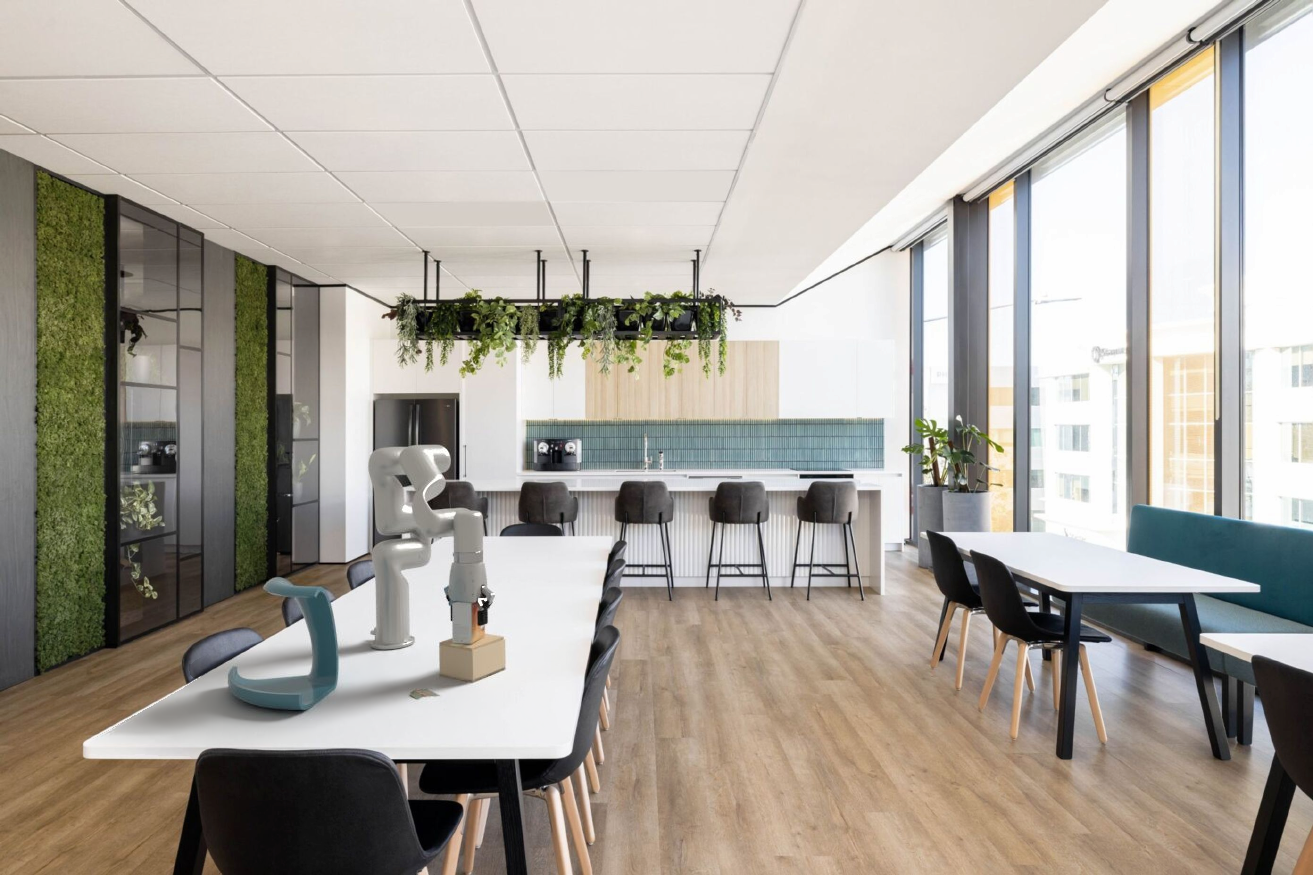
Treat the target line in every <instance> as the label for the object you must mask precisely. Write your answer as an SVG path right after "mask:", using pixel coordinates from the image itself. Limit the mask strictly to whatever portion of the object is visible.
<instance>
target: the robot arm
mask: <svg viewBox="0 0 1313 875" xmlns="http://www.w3.org/2000/svg"><path fill="white" fill-rule="evenodd" d="M451 462H452V459H451V454H450V452H449V451H448V449H447V448H446V447H444V446H443V445H441V444H415V445H414V444H413V445H409V446H390V447H389V446H388V447H380V448H378V449H375V450H374V451H373V452H372V453H371V454H370V455H369V459H368V462H367V463H368V464H367V465H368V466H367V468H368V474H369V478H370V480H371V484H372V487H373V496H374V498H373V499H374V517H375V526H376V527H375V528H376V530H377V532H378V534H380V535H382V536H396V535H406V534H409V536H410V537H405V538H394V539H387V540H382V541H380V542H379V543H377V544H375V545H374V547H373V548H372V550H371V561H372V562H371V563H372V565H373V566H372V567H373V572H374V579H375V580H374V581H375V620H376V621H375V627H374V628H373V629H371V631H370V635H372V636H374V639H373V640H372V641H371V642H370V647H371V648H373V649H375V650H395V649H396V650H397V649H403V648H407V647H410V646H411V645H414V643H415V642H416V637H414V636H413V635H411V634H410V587H409V586H410V585H409V582H408V580H407V579H406V577H405V576H404V575H403V573H402V571H404V570H405V571H406V570H411V569H417V568H418V569H419V568H423V567H425V566H426V565H428V564H429V563H430V561H431V559H432V543H431V542H432V541H431V540H432V539H439V538H447V537H453V552H452V557H453V562H451V565H450V571H449V579H448V584H447V586H445V587H444V588H443V591H444V595H445V598H446V599H445V600H447V602H448V606H449V607H450V611H449V612H450V622H452V603H455V602H457V601H459V602H465V603H476V605H477V606H478V608H479V610H478V611H477V625H478V626H482V625H485V626H486V625H488V623H489V609H490V608H491V606H492V604H493V601H494V599H495V597H496V594H495V593H494V592H493V591H492V590H491V589H490V588H488V581H487V580H488V578H487V570H486V566H485V564H486V563H484V523H483V522H484V519H483V518H484V517H483V513H482V512H481V511H479V510H478V511H477V510H470V509H468V508H466V507H455V508H453V507H452V508H451V507H450V508H442V509H439V508H438V509H432V508H431V507H430V505H429V503H428V502H429V501H430V500H432V499H434V498H436V497H437V496H439V495H440V494H441V493H442V492H443V491H444V490H445V487H446V484H447V483H446V478H445V477H444V475H443V473H445V472H447V471H448V470H449V469H450V467H451ZM396 476H406V477H407V478H408V480H409V482H410V483H411V485H412V487H413V488H414V491H415V493H414V495H413V498H412V502H405V491H404V487H403V485H402V483H401V482H400V481H399V479H398V478H397V477H396ZM481 602H482V603H483V605H482V604H481Z"/></svg>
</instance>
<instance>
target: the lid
mask: <svg viewBox="0 0 1313 875" xmlns="http://www.w3.org/2000/svg"><path fill="white" fill-rule="evenodd" d="M503 639H505V636H501V635H496V634H490V633H485V637H483V638H481V639H479V640H477V641H475V642H474V643H472V644H464V643H453V637H451V638H449V639H446V640H442V641H440V642H439V645H441V646H447V647H452V648H457V649H463V650H468V651H474V650H476V649H479V648H482V647H484V646H487V645H490V644H493V643H495V642H498V641H501V640H503Z"/></svg>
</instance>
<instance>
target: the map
mask: <svg viewBox="0 0 1313 875" xmlns="http://www.w3.org/2000/svg"><path fill="white" fill-rule="evenodd" d="M409 694H410V696H412V697H413V698H415V699H416V700H420V699H421V698H424V697H425V698H428V697H429V698H430V697H441V695H440V694H438V693H436V692H434V691H432V690H431V689H429V688H421V689H417V688H415V690H413V691H411V692H410V693H409Z"/></svg>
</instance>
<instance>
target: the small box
mask: <svg viewBox="0 0 1313 875" xmlns="http://www.w3.org/2000/svg"><path fill="white" fill-rule="evenodd" d="M481 604H482V605H483V603H482V602H481ZM478 610H479V608H478V606H477V605H476V603H465V602H459V601H457V602H455V603H452V621H451V622H452V623H451V624H452V628H451V631H452V638H453V643H464V644H472V643H474V642H475V641H477V640H479V639H481V638H483V637H485V634H486V624H485V625H482V626H478V625H477V611H478Z"/></svg>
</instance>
